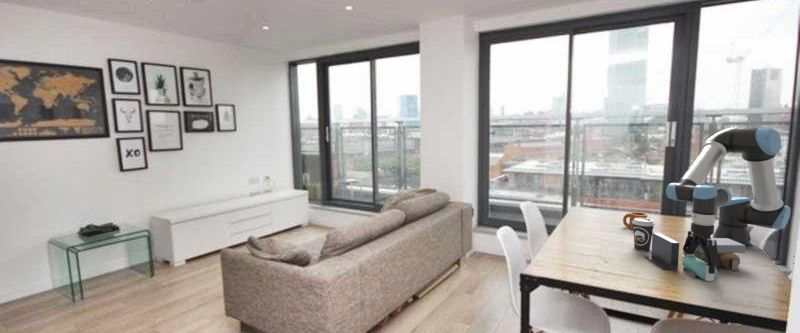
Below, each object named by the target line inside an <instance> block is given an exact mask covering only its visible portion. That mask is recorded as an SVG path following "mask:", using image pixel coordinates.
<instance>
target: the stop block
mask: <svg viewBox="0 0 800 333" xmlns="http://www.w3.org/2000/svg"><path fill="white" fill-rule="evenodd" d="M679 255H680V242H679V241H676V240H674V239H673V238H671V237H669V236H667V235H665V234H663V233H660V232H652V238H651V255H644V257H643V258H644V259H646V260H647V261H649V262H650V263H652V264H653V265H655V266H656V267H658V268H659V269H661V270H662V271H665V270H666V271H678V268H679V258H680V257H679Z"/></svg>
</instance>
